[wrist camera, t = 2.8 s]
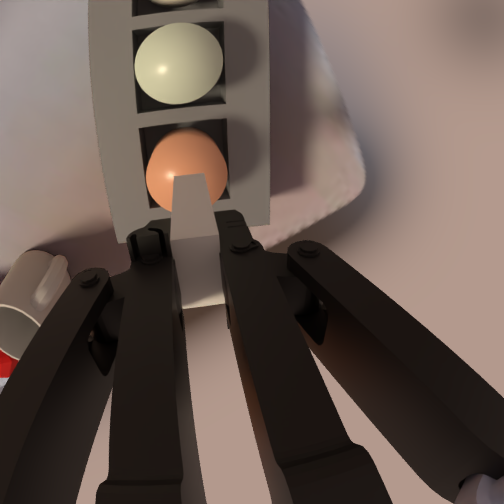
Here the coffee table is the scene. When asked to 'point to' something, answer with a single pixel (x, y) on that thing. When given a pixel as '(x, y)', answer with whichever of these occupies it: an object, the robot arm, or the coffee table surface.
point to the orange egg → (185, 164)
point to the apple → (6, 365)
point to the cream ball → (173, 3)
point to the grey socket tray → (181, 105)
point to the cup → (29, 298)
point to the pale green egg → (178, 63)
